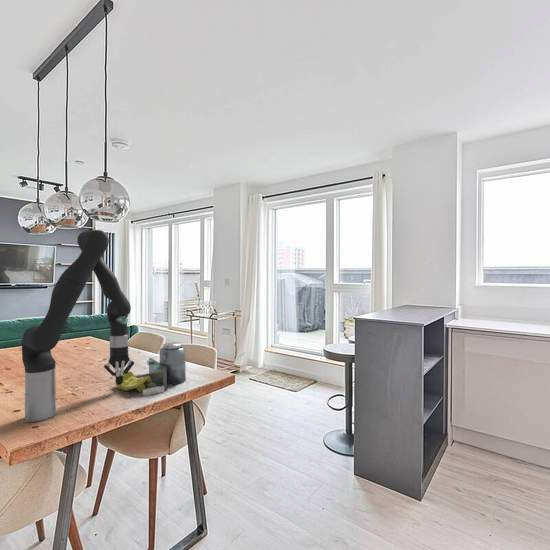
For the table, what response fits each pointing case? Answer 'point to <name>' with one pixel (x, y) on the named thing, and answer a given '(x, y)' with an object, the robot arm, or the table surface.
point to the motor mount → (166, 368)
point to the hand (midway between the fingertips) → (119, 384)
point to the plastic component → (134, 382)
